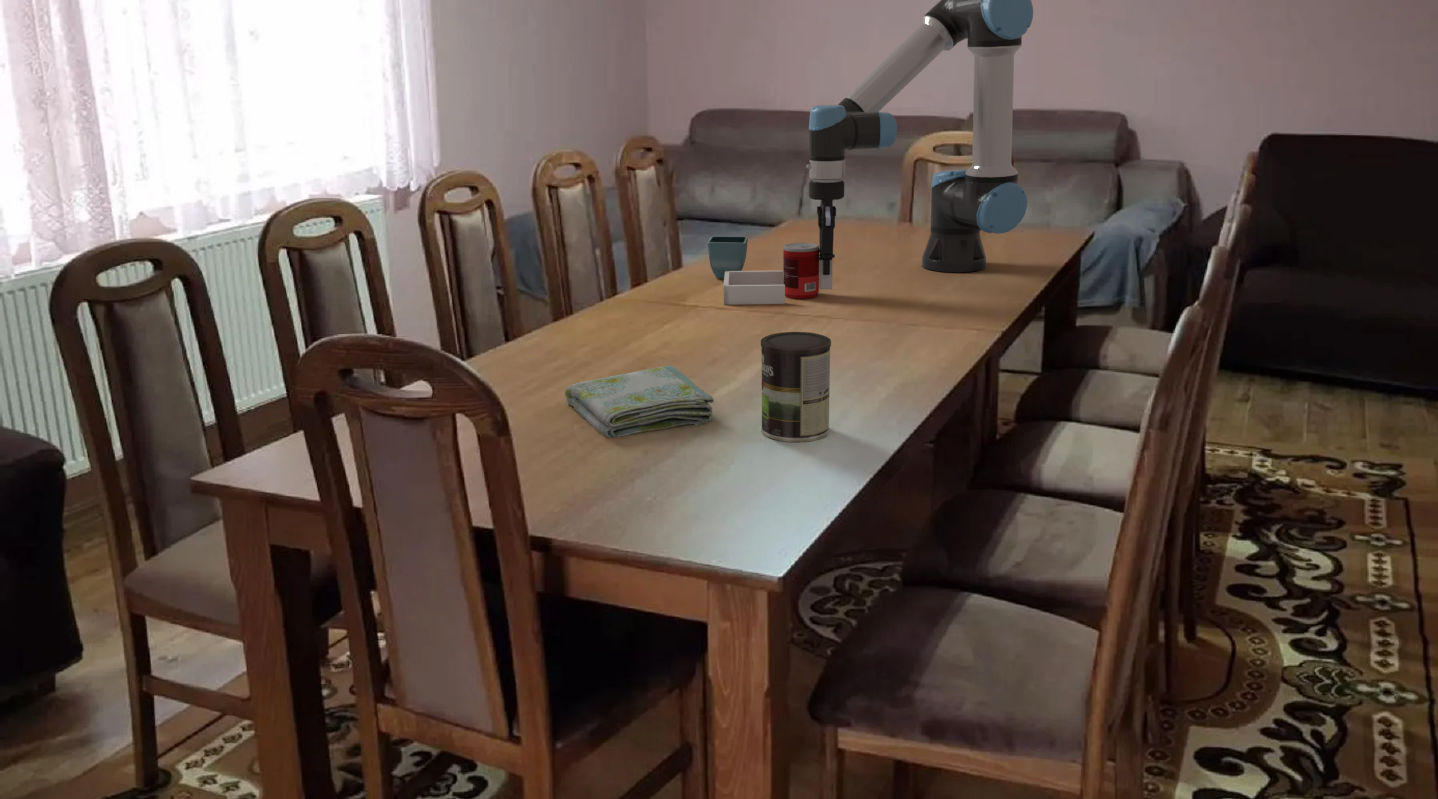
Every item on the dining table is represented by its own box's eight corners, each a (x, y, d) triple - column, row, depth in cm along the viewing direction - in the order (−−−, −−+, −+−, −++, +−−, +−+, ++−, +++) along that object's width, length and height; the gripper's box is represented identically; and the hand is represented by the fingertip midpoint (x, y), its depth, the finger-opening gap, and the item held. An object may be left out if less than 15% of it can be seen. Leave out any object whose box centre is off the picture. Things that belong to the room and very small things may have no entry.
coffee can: (765, 444, 185) (764, 350, 181) (757, 422, 195) (756, 332, 191) (835, 441, 186) (836, 347, 182) (824, 419, 196) (825, 330, 192)
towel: (606, 443, 188) (604, 410, 187) (564, 404, 207) (562, 374, 205) (719, 426, 195) (719, 394, 193) (669, 390, 214) (668, 360, 212)
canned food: (822, 292, 282) (823, 243, 278) (813, 300, 274) (813, 249, 271) (789, 290, 284) (789, 241, 281) (779, 298, 277) (779, 248, 274)
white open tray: (783, 288, 287) (783, 270, 286) (784, 303, 272) (784, 285, 270) (725, 288, 287) (724, 271, 286) (723, 304, 272) (723, 286, 271)
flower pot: (748, 273, 304) (748, 235, 301) (745, 281, 295) (745, 242, 292) (711, 273, 304) (711, 235, 302) (707, 280, 296) (707, 242, 293)
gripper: (807, 176, 278) (807, 282, 285) (810, 184, 265) (810, 295, 272) (842, 175, 278) (840, 282, 285) (846, 183, 265) (845, 294, 272)
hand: (825, 288), depth 279 cm, fingers closed
